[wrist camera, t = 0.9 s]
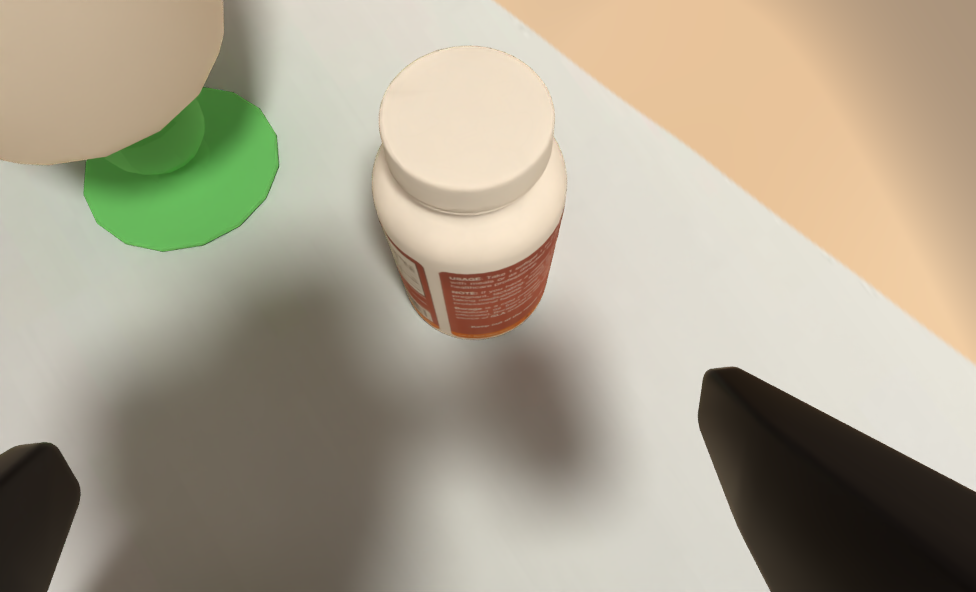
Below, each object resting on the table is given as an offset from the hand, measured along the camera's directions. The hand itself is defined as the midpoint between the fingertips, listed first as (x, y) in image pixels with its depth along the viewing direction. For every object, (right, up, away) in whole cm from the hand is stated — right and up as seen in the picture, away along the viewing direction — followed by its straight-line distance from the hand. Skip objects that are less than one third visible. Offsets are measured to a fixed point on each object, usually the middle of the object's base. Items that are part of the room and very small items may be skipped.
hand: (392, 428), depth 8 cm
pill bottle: (+1, +3, +17) cm, 18 cm away
